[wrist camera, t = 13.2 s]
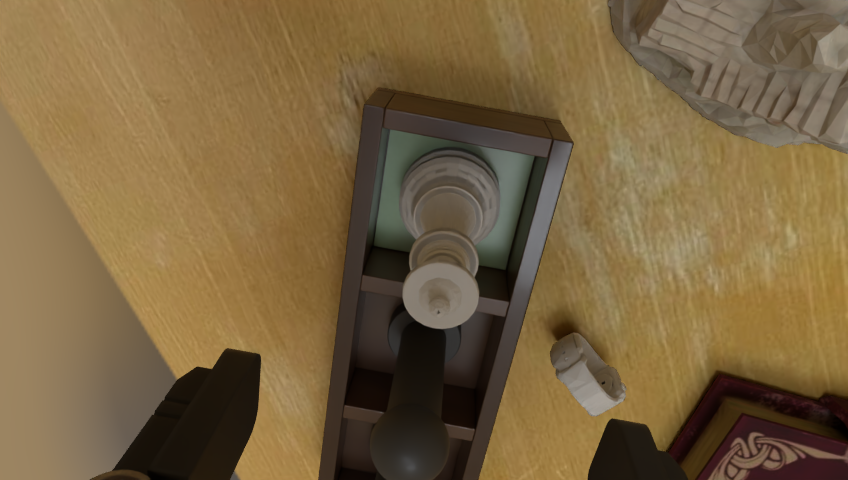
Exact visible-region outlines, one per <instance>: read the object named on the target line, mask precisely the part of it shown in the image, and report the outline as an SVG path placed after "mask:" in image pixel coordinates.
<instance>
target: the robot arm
mask: <svg viewBox="0 0 848 480" xmlns="http://www.w3.org/2000/svg"><path fill="white" fill-rule="evenodd" d="M260 368H261V356H260V354H257V353H251V352H246V351H240V350H235V349H229V348H227V349H225V350H224V352H223V353H222V354H221V356H220V358H219V359H218V361H217V362H216V364H215V365H214V367H213V368H212V369H208V368H202V367H196V368H194V369H193V370H191V371H190V372H188V373H187V374H185V375H184V376H182V377H181V378H179V379H178V380H177V381H176V383H175V384H174V385H173V387H172V388H171V389H170V391H169V392H168V394H167V395H166V396H165V400H164V401H162V402H161V403H160V405H159V406H158V408H157V409H156V410H155V413H154V415H152V416H151V417H150V419H149V420H148V422H147V423H146V425H145V426H144V427H143V429H142V430H141V432H140V433H139V434H138V436H137V437H136V438H135V440H134V441H133V443H132V444H131V445H130V447H129V448H128V450H127V451H126V453H125V454H124V455H123V457H122V458H121V459H120V461H119V462H118V464H117V465H116V466H115V468H114V469H113V470H112V471H110V472H106V473H104V474H101V475H98V476H96V477H94V478H92V479H90V480H230V478H231V476H232V474H233V472H234V470H235V468H236V465H237V463H238V461H239V459H240V457H241V455H242V453H243V450H244V448H245V446H246V444H247V442H248V440H249V438H250V435H251V433H252V430H253V428H254V424H255V421H256V416H257V411H258V401H259V385H260ZM588 480H688V478H687V475H686V473H685V471H684V470H683V469H682V468H681V467H680V466H679V464H678V463H677V462H676V461H675V460H674V459H673V458H672V456H671V455H670V454H669V453H668V452H664V451H659V450H657V447H656V445H655V442H654V440H653V437H652V435H651V432H650V430H649V428H648V427H647V426H646V425H645V424H640V423H635V422H629V421H624V420H618V419H611V420H609V422H608V423H607V425H606V428H605V430H604V433H603V435H602V438H601V440H600V443H599V446H598V448H597V451H596V453H595V456H594V458H593V461H592V463H591V466H590V469H589V474H588Z"/></svg>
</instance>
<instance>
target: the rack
mask: <svg viewBox="0 0 848 480" xmlns="http://www.w3.org/2000/svg"><path fill="white" fill-rule="evenodd" d="M573 145H574V142H573V141H572V139H571V137H570V136H569V134H568V132H567V131H566V129H565V128H564V126H563V124H562V123H561V121H559V120H553V119H548V118H542V117H537V116H531V115H526V114H520V113H515V112H510V111H504V110H499V109H493V108H488V107H482V106H477V105H472V104H466V103H461V102H455V101H450V100H444V99H439V98H434V97H428V96H423V95H417V94H412V93H406V92H401V91H396V90H390V89H385V88H378V89H377V90H376V91H375V92H374V93H373V94H372V96H371V97H370V98H369V99H368V100H367V102H366V103H365V104H364V108H363V116H362V125H361V133H360V141H359V149H358V158H357V166H356V174H355V182H354V190H353V199H352V207H351V215H350V223H349V231H348V240H347V248H346V256H345V264H344V272H343V281H342V289H341V297H340V305H339V313H338V322H337V330H336V338H335V346H334V355H333V363H332V371H331V379H330V387H329V396H328V404H327V412H326V420H325V428H324V437H323V445H322V453H321V461H320V469H319V478H318V480H375V478H376V473H377V469H376V467H375V465H374V463H373V461H372V457H371V453H370V448H369V441H370V436H371V431H372V427H373V425H374V423H375V424H376V422H377V421H378V419H379V418H380V417H381V416H382V415H383V414H384V413H385V412H386V411H387V407H388V402H389V397H390V392H391V387H392V381H393V376H394V371H395V366H396V361H397V356H396V355H395V354H394V353H393V351H392V350H391V348H390V346H389V343H388V337H387V334H388V328H389V324H390V320H391V316H392V314H393V312H394V311H395V310H396V308H397V307H398V306H399V305H400V304H402V303H403V302H404V301H403V297H402V294H403V284H404V282H405V279H406V277H407V275H408V274H409V273H410V271H411V270H410V266H409V256H410V251H411V249H412V246H413V244H414V242H415V241H416V239H415V238H414V237H413V236H412V235H411V234H410V233H409V232H408V230H407V229H406V227H405V225H404V223H403V221H402V219H401V215H400V210H399V195H400V188H401V185H402V182H403V179H404V176H405V174H406V172H407V171H408V169H409V168H410V166H411V165H412V163H413V162H415V161H416V160H417V159H418V158H419V157H421V156H422V155H423V154H425V153H428V152H430V151H432V150H434V149H439V148H444V147H455V148H462V149H465V150H468V151H471V152H474V153H475V154H477V155H478V156H480V157H481V158H482V159H484V160H485V161H486V162H487V163H488V165H489V166H490V167H491V168H492V169H493V171H494V173H495V175H496V178H497V180H498V183H499V189H500V196H501V199H500V210H499V217H498V219H497V222H496V224H495V226H494V228H493V229H492V231H491V232H490V233H489V234H488V236H487V237H486V238H485V239H483V240H482V241H481V242H479V243H478V244H477V245H475V247H476V249H477V252H478V258H479V263H478V270H477V273H476V275H475V277H474V278H475V280H476V282H477V284H478V289H479V300H478V305H477V307H476V309H475V312H474V313H473V314H472V315H471V317H470V318H469V319H468V320H466V321H465V322H464V323H462V324H461V344H460V347H459V350H458V352H457V353H456V355H455V356H454V357H453V358H452V359H451V360H450V361H448V362H447V363H445V369H444V384H443V398H442V412H441V420H442V421H443V422H444V424H445V426H446V428H447V431H448V435H449V441H450V449H449V456H448V459H447V462H446V464H445V466H444V468H443V469H442V471H441V472H440V473H439V474H438V476H437V477H435V478H434V479H433V480H478V479H479V476H480V472H481V468H482V465H483V461H484V458H485V454H486V451H487V447H488V444H489V440H490V437H491V433H492V430H493V426H494V423H495V419H496V416H497V412H498V409H499V405H500V402H501V398H502V395H503V391H504V388H505V384H506V380H507V377H508V373H509V370H510V366H511V363H512V359H513V356H514V352H515V349H516V345H517V342H518V338H519V335H520V331H521V328H522V324H523V321H524V317H525V314H526V310H527V307H528V303H529V300H530V296H531V292H532V289H533V285H534V282H535V278H536V275H537V271H538V268H539V264H540V261H541V257H542V254H543V250H544V247H545V243H546V240H547V236H548V233H549V229H550V226H551V222H552V219H553V215H554V212H555V208H556V204H557V201H558V197H559V194H560V190H561V187H562V183H563V180H564V176H565V173H566V169H567V166H568V162H569V159H570V155H571V152H572V148H573Z"/></svg>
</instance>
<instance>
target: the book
mask: <svg viewBox="0 0 848 480" xmlns="http://www.w3.org/2000/svg"><path fill="white" fill-rule="evenodd" d="M669 454H670V455H671V456H672V458H673V459H674V460H675V461H676V462H677V463H678V464H679V466H680V467H681V468H682V469H683V470H684V471H685V473H686V475H687V478H688V480H848V400H844V399H841V398H837V397H834V396H826V397H823V398H820V400H819V402H817V401H814V400H810V399H807V398H803V397H800V396H796V395H793V394H789V393H785V392H782V391H778V390H775V389H771V388H768V387H764V386H761V385H757V384H754V383H750V382H746V381H743V380H739V379H736V378H732V377H729V376H725V375H722V374H719V375H718V377H717V378H716V380H715V382H714V383H713V385H712V386H711V388H710V389H709V391H708V392H707V394H706V395H705V397H704V399H703V400H702V402H701V403H700V405H699V406H698V408H697V409H696V411H695V412H694V414H693V416H692V417H691V419H690V420H689V422H688V423H687V425H686V426H685V428H684V429H683V431H682V433H681V434H680V436H679V437H678V439H677V440H676V442H675V443H674V445H673V446H672V448H671V450H670V451H669Z"/></svg>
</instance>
